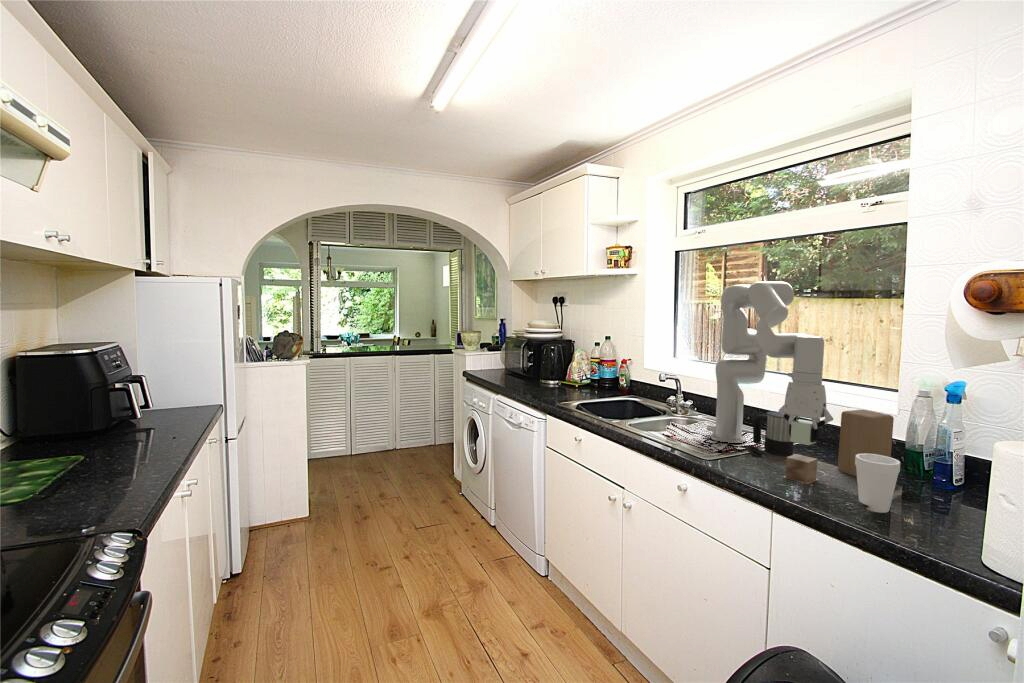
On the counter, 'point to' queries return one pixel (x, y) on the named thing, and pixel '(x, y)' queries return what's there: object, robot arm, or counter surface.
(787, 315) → the robot arm
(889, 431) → the block
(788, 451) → the milk frother
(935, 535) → the counter surface
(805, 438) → the sage block
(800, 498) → the counter surface
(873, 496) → the foam cup
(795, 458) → the walnut block
